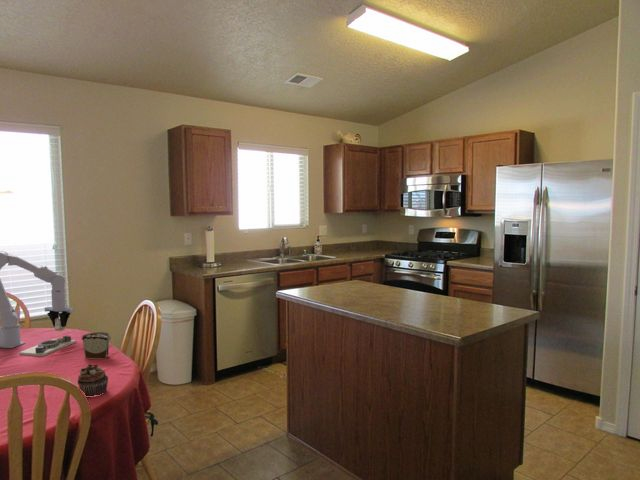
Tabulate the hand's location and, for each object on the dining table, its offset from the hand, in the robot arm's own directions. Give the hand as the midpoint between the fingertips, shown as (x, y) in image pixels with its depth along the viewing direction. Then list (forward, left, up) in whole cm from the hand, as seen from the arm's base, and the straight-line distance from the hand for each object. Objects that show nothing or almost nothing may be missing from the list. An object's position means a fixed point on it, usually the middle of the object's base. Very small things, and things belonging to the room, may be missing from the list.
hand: (59, 326), depth 218 cm
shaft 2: (+7, -6, -6) cm, 12 cm away
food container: (+35, -18, -7) cm, 40 cm away
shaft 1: (+7, -19, -6) cm, 22 cm away
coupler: (0, 0, -2) cm, 2 cm away
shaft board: (+5, -13, -6) cm, 15 cm away
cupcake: (+58, -52, -7) cm, 78 cm away
